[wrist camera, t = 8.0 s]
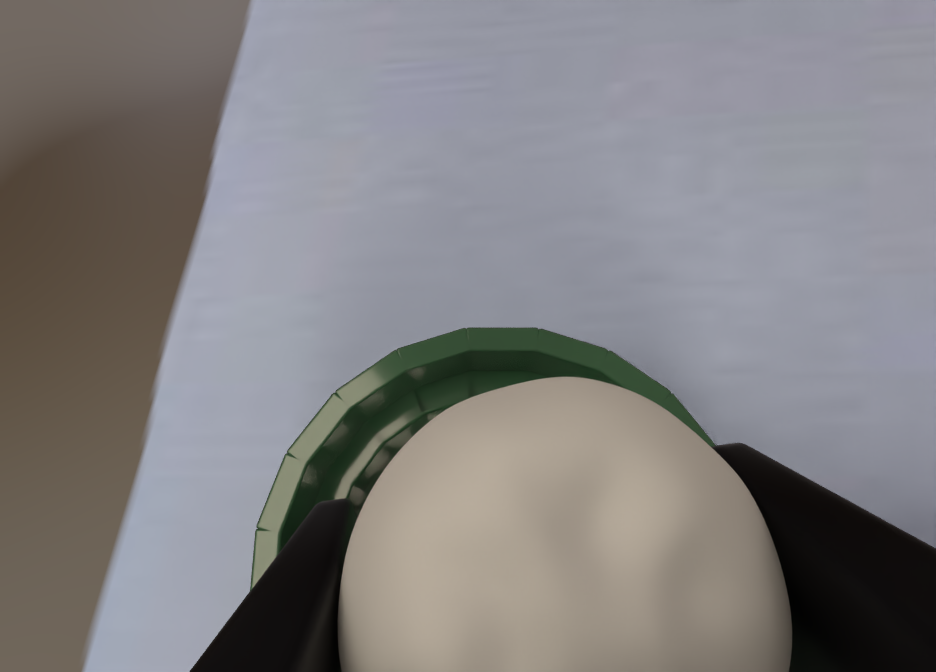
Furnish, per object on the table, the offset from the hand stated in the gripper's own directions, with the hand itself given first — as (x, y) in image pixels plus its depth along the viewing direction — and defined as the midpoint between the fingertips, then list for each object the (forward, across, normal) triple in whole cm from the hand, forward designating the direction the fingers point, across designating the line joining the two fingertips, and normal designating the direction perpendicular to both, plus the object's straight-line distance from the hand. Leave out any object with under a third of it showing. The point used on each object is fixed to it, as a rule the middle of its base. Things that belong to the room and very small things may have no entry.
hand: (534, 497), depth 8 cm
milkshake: (+4, 0, +6) cm, 7 cm away
